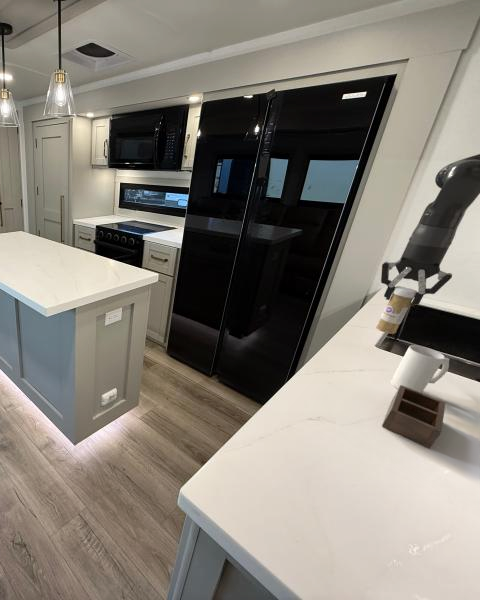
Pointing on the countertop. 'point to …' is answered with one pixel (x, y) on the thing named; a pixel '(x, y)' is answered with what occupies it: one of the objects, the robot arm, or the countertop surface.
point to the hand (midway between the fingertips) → (399, 301)
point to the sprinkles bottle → (396, 309)
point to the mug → (419, 368)
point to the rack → (415, 416)
